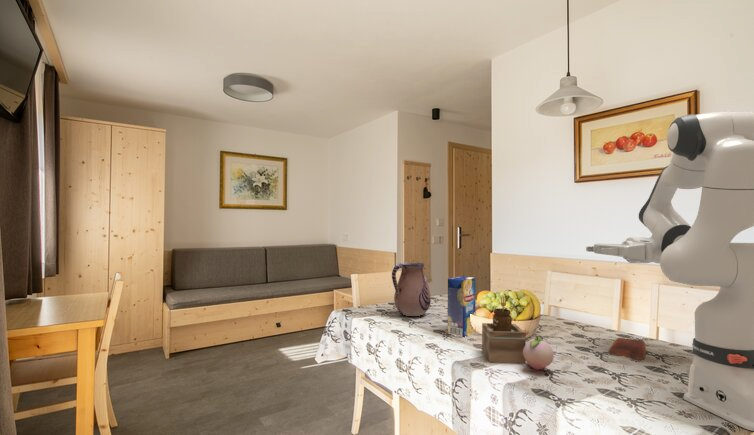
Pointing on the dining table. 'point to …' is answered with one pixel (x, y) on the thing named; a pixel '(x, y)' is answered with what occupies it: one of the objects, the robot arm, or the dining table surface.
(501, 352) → the walnut box
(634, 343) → the wooden tablet
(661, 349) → the dining table surface
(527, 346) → the decorative fruit
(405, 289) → the ceramic pitcher
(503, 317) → the utensil holder
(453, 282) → the beverage box
